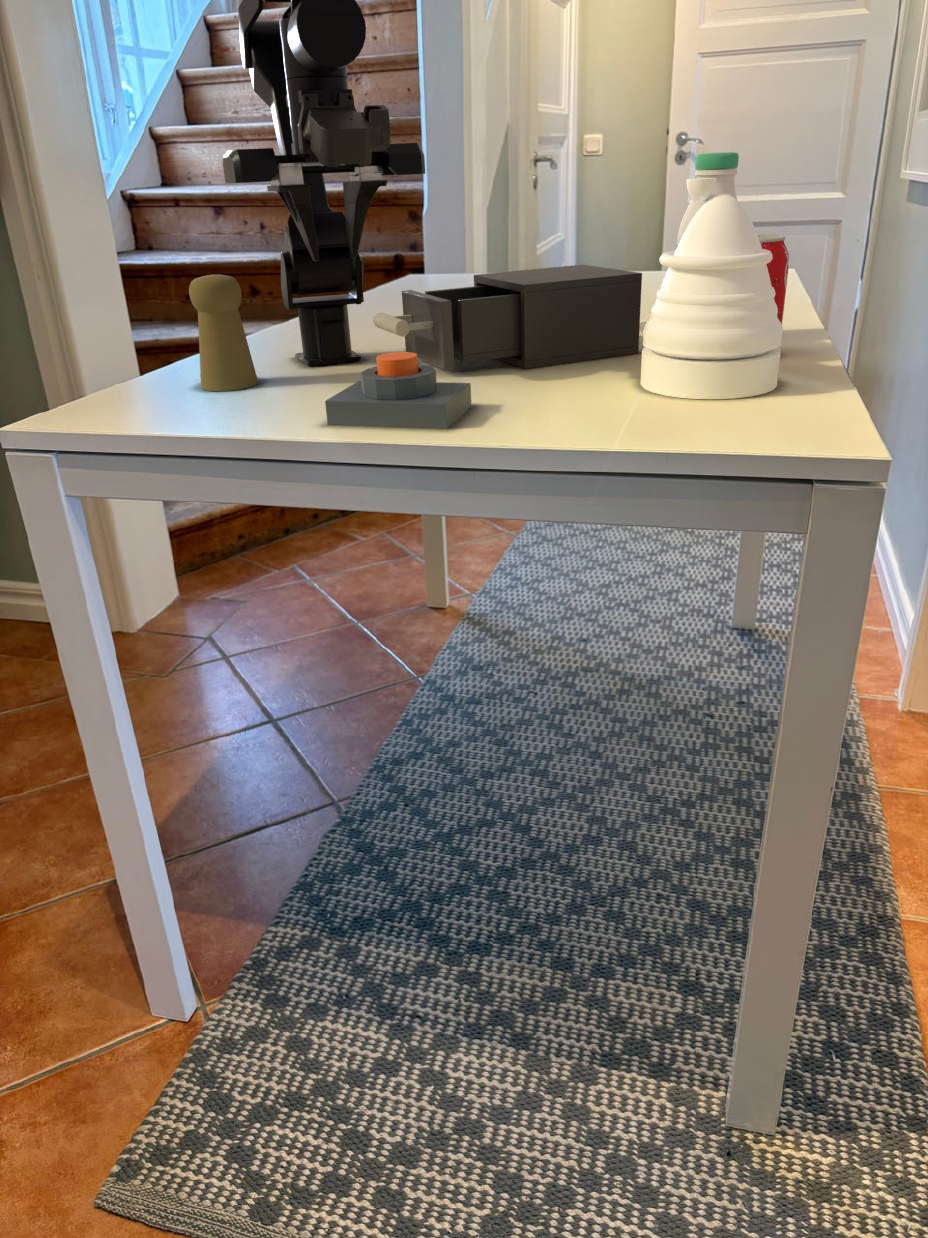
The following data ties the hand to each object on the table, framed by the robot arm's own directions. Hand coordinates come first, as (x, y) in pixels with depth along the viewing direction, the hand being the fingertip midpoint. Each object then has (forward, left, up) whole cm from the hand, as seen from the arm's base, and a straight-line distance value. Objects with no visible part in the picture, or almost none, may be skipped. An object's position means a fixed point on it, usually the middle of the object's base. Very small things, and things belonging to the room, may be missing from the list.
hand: (334, 259), depth 90 cm
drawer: (0, +14, -11) cm, 18 cm away
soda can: (+14, +42, -12) cm, 45 cm away
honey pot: (+23, +30, -12) cm, 39 cm away
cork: (-5, -11, -12) cm, 17 cm away
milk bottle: (+4, +44, -12) cm, 45 cm away
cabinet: (0, +26, -12) cm, 28 cm away
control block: (+18, 0, -12) cm, 22 cm away
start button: (+18, 0, -8) cm, 20 cm away
